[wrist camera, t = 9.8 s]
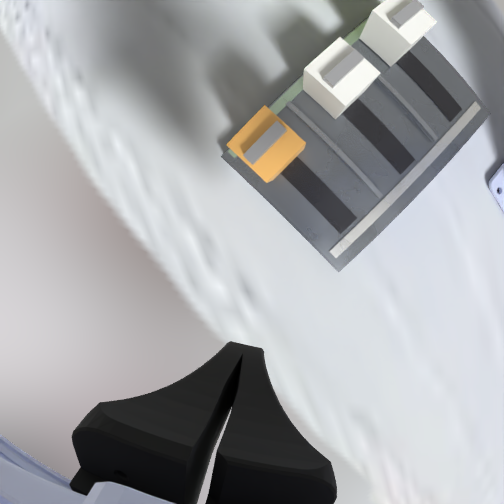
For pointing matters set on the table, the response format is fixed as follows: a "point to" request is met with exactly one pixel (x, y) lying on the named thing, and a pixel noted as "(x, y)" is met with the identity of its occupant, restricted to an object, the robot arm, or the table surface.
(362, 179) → the panel
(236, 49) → the table surface
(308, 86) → the white breaker
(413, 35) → the white breaker
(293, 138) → the breaker orange
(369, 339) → the table surface
